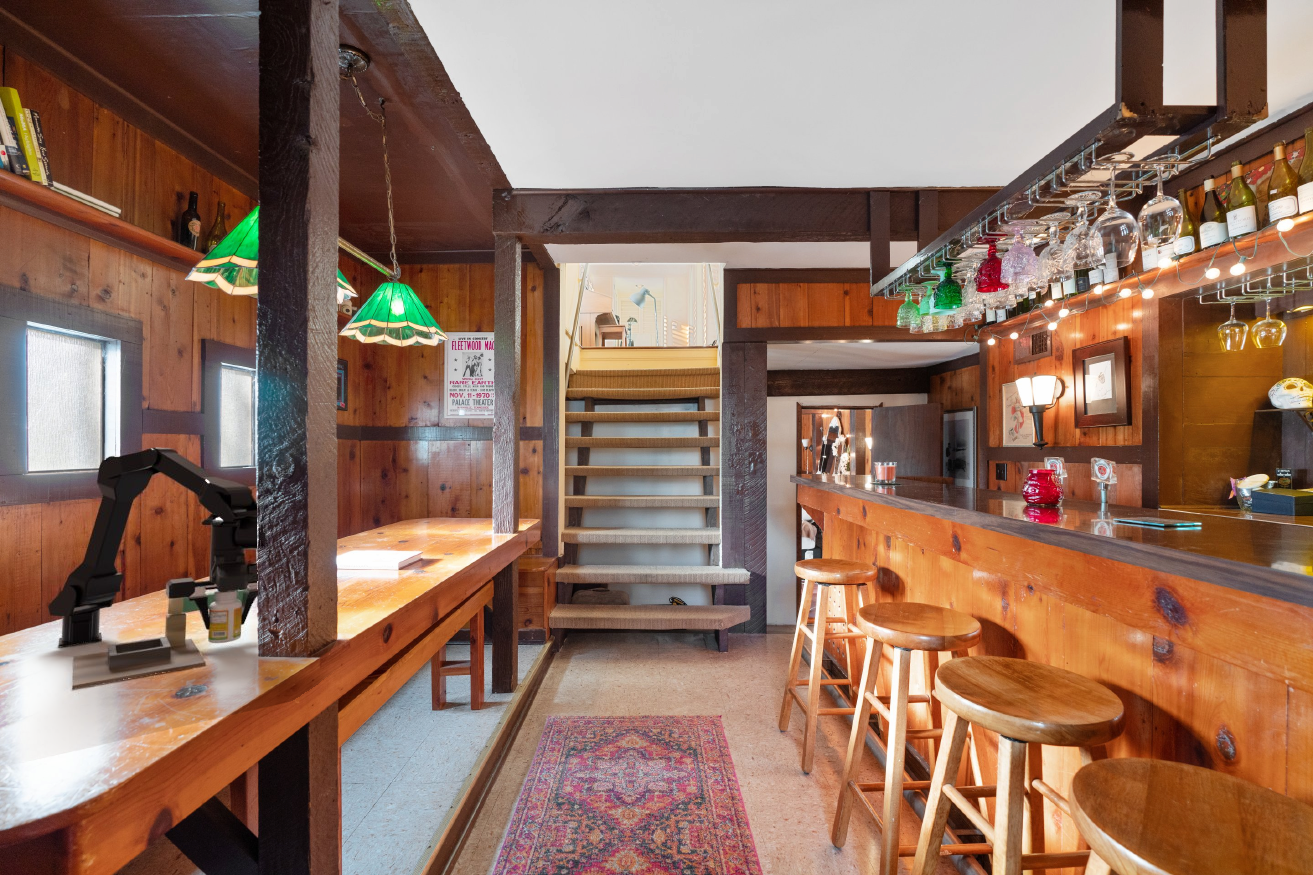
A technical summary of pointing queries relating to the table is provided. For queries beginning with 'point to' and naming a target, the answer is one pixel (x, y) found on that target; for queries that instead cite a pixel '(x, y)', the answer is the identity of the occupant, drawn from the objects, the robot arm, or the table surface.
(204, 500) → the robot arm
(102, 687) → the table surface
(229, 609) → the supplement bottle
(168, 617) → the bottle stand
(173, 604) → the keeper arm
